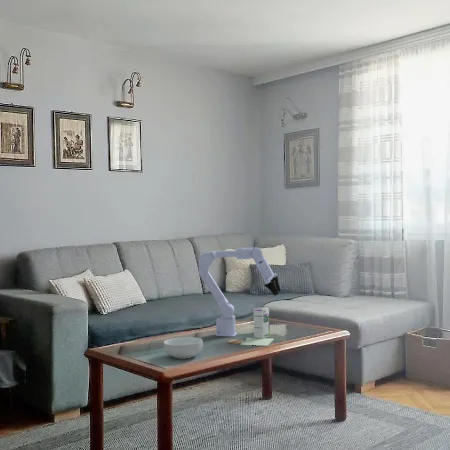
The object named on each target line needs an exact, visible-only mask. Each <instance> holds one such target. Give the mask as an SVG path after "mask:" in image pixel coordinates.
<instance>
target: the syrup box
mask: <svg viewBox="0 0 450 450" xmlns="http://www.w3.org/2000/svg"><path fill="white" fill-rule="evenodd" d="M252 312H253V338H270V336H271V335H270V332H271V330H270V329H271V328H270V307H261V306H260V307H256V308H253V311H252Z"/></svg>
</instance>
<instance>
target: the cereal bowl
mask: <svg viewBox="0 0 450 450" xmlns="http://www.w3.org/2000/svg"><path fill="white" fill-rule="evenodd" d="M203 342H204V341H203V339H202V338H200V337H194V336H193V337H192V336H182V337H172V338H169V339H166V340H164V342H163V349H164V352H165V353H166V354H167V355H168V356H170V357H173V358H175V359H176V358H179V359H178V360H187V359H186V358H188V359H191V357H192V358H193V357H194V356H196V355H198V354H199V353H200V352H201V350H202V349H203V345H204V343H203Z"/></svg>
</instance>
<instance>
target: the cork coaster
mask: <svg viewBox="0 0 450 450" xmlns="http://www.w3.org/2000/svg"><path fill="white" fill-rule="evenodd" d="M244 341H245V339H238V338H237V339H230V340H229V339H228V340H227V343H228V344H231V345H232V344H233V345H238V344H239V345H240V344H241V343H243V342H244Z"/></svg>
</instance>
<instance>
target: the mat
mask: <svg viewBox="0 0 450 450" xmlns="http://www.w3.org/2000/svg"><path fill="white" fill-rule="evenodd" d="M274 339H275V338H270V337H267V338H255V337H246V339H244V342H243V343H241V344H239V346H252V345H254V346H253V347H255V345H256V347H268V346H269V345H270V344H271V343H272V342H273V341H274Z"/></svg>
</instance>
